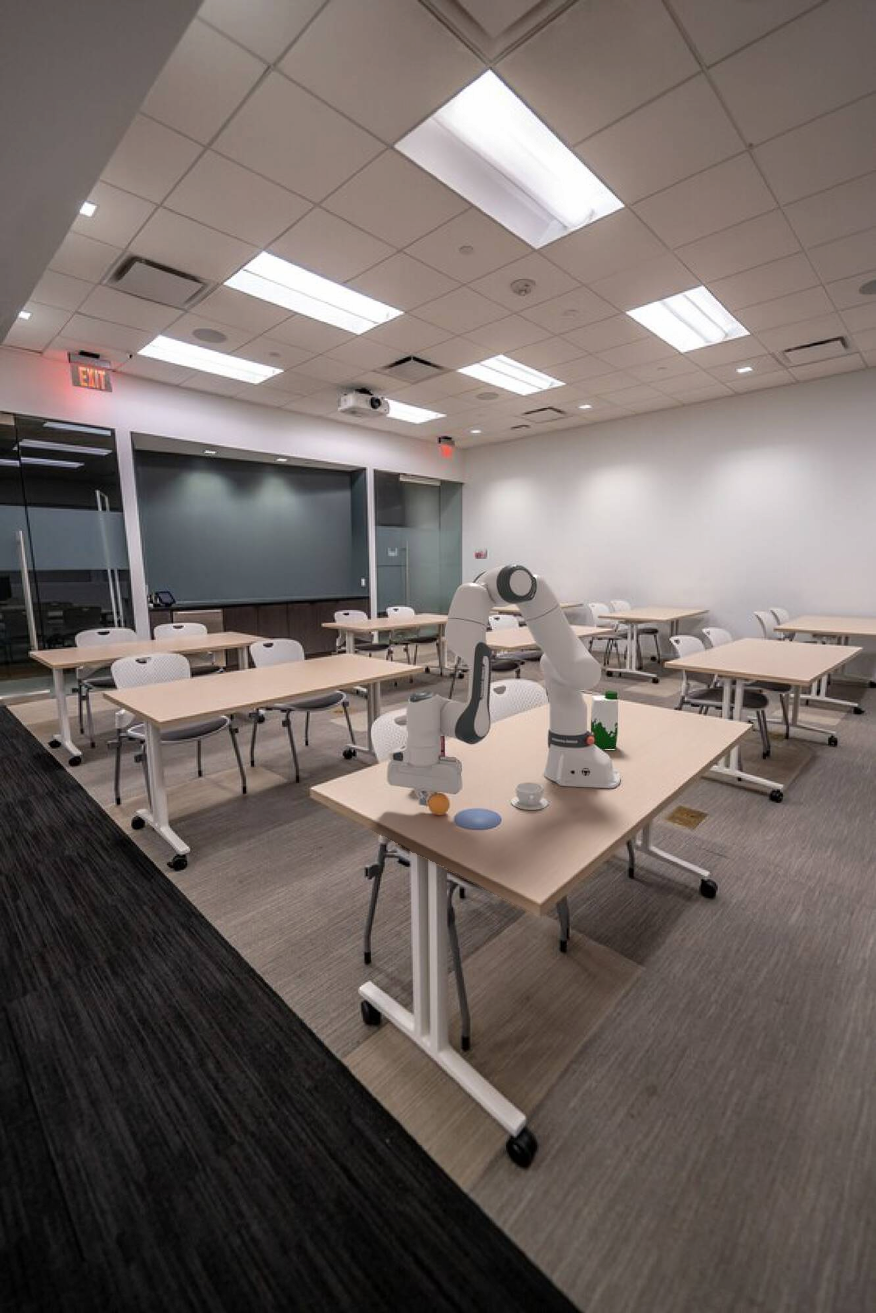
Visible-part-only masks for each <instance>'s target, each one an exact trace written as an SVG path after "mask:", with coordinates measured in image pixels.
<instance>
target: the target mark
mask: <svg viewBox="0 0 876 1313" xmlns="http://www.w3.org/2000/svg"><path fill="white" fill-rule="evenodd" d="M453 822H454V823H455V824H456V825H458V826H459V827H461V828H463V829H467V830H471V831H472V830H474V831H481V830H482V831H483V830H489V829H494V828H496V827H497V826H499V825H500V824H501V823H502V816H501V815H500V814H499V813H498V812H496V811H493V810H491V809H486V808H468V809H464V810H461V811H459V812H457V813H456V814H455V815H454V817H453Z"/></svg>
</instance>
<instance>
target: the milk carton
mask: <svg viewBox="0 0 876 1313" xmlns="http://www.w3.org/2000/svg"><path fill="white" fill-rule="evenodd" d="M618 698H619V697H618V691H615V690H614V691H612V690H610V691H609V690H607V691H605V694H604V695H601V694H600V695H592V698H591V699H592V700H591V705H590V706H591V707H590V709H591V710H590V733H592V732H593V735H594V743H593V744H595V745H596V746H597V747H598V748H600V749H615V748H617V742H618V741H617V740H618V733H619V732H618V731H619V730H618V728H619V727H618V726H619V701H618V700H619V699H618Z"/></svg>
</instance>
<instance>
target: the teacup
mask: <svg viewBox="0 0 876 1313" xmlns="http://www.w3.org/2000/svg"><path fill="white" fill-rule="evenodd" d="M515 794H516V796H514V797H513V798H511V799H510V803H511V805H512V806H514V807H516V808H518V809H522V810H528V811H529V810H530V811H532V810H533V811H535V810H536V811H537V810H541V809H544V808H546V807H547V806H548V805H549V801H548V799H547V798H545V797H543V796H544V795H543V794H544V786H543V785H542V784H540V783H537V782H530V781H528V782H527V781H526V782H520V783H517V784H516V785H515Z"/></svg>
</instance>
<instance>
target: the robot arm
mask: <svg viewBox="0 0 876 1313" xmlns="http://www.w3.org/2000/svg"><path fill="white" fill-rule="evenodd" d="M510 605H515V606H516V607H517V608H518V610H519V612H520V615H521V616H522V619H523V621H524V622H525V625H526V627H527V629H528V631H529V633H530V634H531V637H532V638H533V640H534V643H535V644H536V645H537V646H538V647H539V648H540V649H541V651H542V652H543V654H542V655H541V657H540V661H539V666H540V670H541V672H542V673H543V676H544V682H545V688H546V691H547V698H548V705H549V729H548V730H547V747H548V754H547V760H546V764H545V768H544V771H543V776H544V777H545V778H546V779H548V780H550V781H552V782H555V783H556V784H558V785H559V786H562V787H578V788H579V787H580V788H598V789H600V788H601V789H603V788H604V789H613V788H616V787H617V786H619V785H620V783H621V781H620V780H621V774H620V773H619V771H618V770H616V769H614V766H613V762H612V759H611V757H610V755H609V754H607V753H606V752H605V750H601V749H600V748H598V747H597V746H596V745H595V744H593V743H594V735H593V732H592V733H591V731H589V730H588V705H587V702H586V700H585V698H584V695H583V692H582V691H583V690H585V691H586V690H590V689H593V688H594V687H596V685H597V684H598V683H600V682H599V681H600V679H601V677H602V667H601V664H600V663H599V662H598V660H596V659H595V658H594V656H592V654H591V653H590V652H589V650H588V648H586V646H585V645H584V643H583V642H582V640H581V639H580V638H579V636H578V635H577V633H575V631H574V629H573V628H572V626H571V625H570V623H569V621H568V619H567V616H566V615H565V612H564V610H563V609H562V607H561V603H559V601H558V598H557V596H556V594H555V592H554V591H553V590H552V587H551V586H550V585H549V583H548V582H547V581H546V579H545V578H544V577H543V576H542V575H541V574H540V575H539V574H533V573H532V572H531V571H530V570H529V569H528V568H527V567H525V566H523V565H520V564H515V563H514V564H508V565H502V566H497V567H493V568H491V569H490V570H487V571H483V572H481V573H480V574H478V575H477V577H475V578H474V580H473V581H472V582H465V583H463V584H460V586H458V587H457V589H456V591H455V593H454V595H453V598H452V601H451V604H450V606H449V611H448V613H447V614H448V615H447V618H446V623H445V629H444V641H445V643H446V645H447V647H448V648H449V650H451V652H452V653H454V654H455V655H456V656H458V658H460V659H462V660H463V661H464V663H465V664H466V665H467V667H468V668H467V669H468V671H469V672H468V673H469V677H468V688H467V689H468V690H467V700H466V702H461V701H457V700H454V699H449V698H447V697H446V698H445V697H443V696H441V695H439V694H438V693H437V692H436V691H434V690H428V689H427V690H419V691H416V692H414V693H413V694H411V695H410V696H409V698H408V700H407V705H406V713H405V714H406V715H405V716H406V718H405V719H406V720H405V725H406V730H407V740H406V744H405V745H402V746H401V745H400V746H398V747H396V748H395V749H393V750H392V751H391V752H389V755H388V756H389V758H388V759H389V762H388V765H387V771H386V781H387V783H388V785H390V786H392V787H393V786H394V787H399V788H400V787H401V788H408V789H413V788H414V789H413V791H414V794H415V796H416V797H417V799H418V805H419V806H427V807H429V806H428V802H429V799H430V797H431V796H432V795H433V794H435V793H443V794H450V795H457V794H458V793H460V792H461V791H462V789H463V777H462V771H463V764H462V762H461V761H460V760H459V759H457V757H455V756H447V755H445V756H441V740H440V737H441V736H442V735H445V737H449V738H452V739H456V740H458V741H460V742H462V743H463V742H464V743H465V744H467V745H475V744H478V743H479V742H482V741H483V739H485V738H486V737H487V735H488V734H489V732H490V729H491V712H490V711H491V710H490V700H491V699H490V698H491V682H492V666H493V664H492V662H493V661H492V650H491V648H490V647H489V645H488V643H487V628H488V624H489V616H490V614H491V612H492V610H493V608H506V607H508V606H510ZM421 790H426V791H425V792H426V794H427V796H424V794H423V793H422V792H423V791H421ZM434 791H435V792H434Z"/></svg>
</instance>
